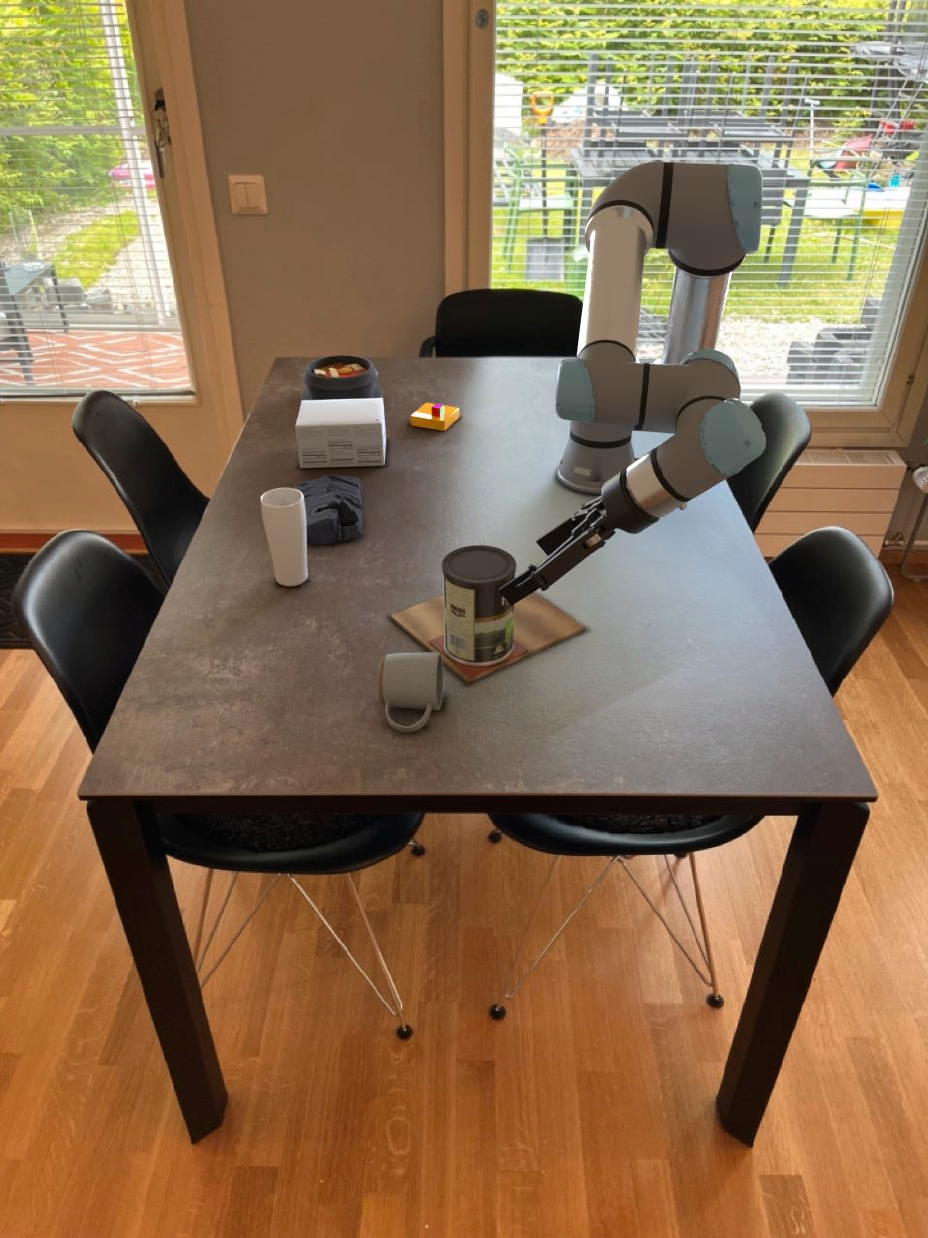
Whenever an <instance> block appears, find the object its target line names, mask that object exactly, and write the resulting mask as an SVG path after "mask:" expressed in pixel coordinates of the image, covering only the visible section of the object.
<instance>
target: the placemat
mask: <svg viewBox="0 0 928 1238" xmlns="http://www.w3.org/2000/svg"><path fill="white" fill-rule="evenodd" d="M390 619H391V620H392V621H393V622H395V623H396V624H397V625H398V626H399V627H400V628H401V629H402V630H404V631H405V632H406V633H407V634H409V635H410V637H412V638H413V639H414V640H415V641H416V642H418V644H420V645H421V646H423V647H424V648H425V649H426V650H427V651H428V652H429V653H430V652H439V653H440V654H441V655H442V661H443V665H444V666H445V667H447V668H448V669H449V670H450V671H452V673H453V674H455V675H456V676H457V677H458V678H459V679H460V680H462V681H463V682H464V683H466V684H470V683H473V682H474V681H477V680H479V679H481V678H484V677H486V676H487V675H490V674H492V673H494V672H496V671H498V670H502V669H503V668H505V667H508V666H509V665H511V664H514V663H516V662H518V661H521V660H523V659H525V658H527V657H529V656H531V655H533V654H536V653H538V652H540V651H542V650H544V649H546V648H549V647H551V646H553V645H555V644H558V643H560V642H562V641H564V640H567V639H569V638H571V637H573V636H575V635H578V634H579V633H582V632H584V631H586V626H585V625H583V624H582V623H580V622H579V621H578V620H576V619H574V618H573V617H572V616H570V615H569V614H567V612H565V611H563V610H562V609H560V608H559V607H557V606H556V605H554V604H553V603H552V602H550V601H549V600H547V599H546V598H544V597H543V596H542V595H540V594H539V593H537V592H536V591H535V592H533V593H531V594H530V595H528V596H527V597H525V598H524V599H522V600H520V601H519V602H517V603H516V604H514V632H513V643H514V648H513V651H512V653H511V654H510V655H509V656H508V657H507V658H506V659H505V660H503V661H502V662H499V663H497V664H494V665H489V666H469V665H464V664H461V663H459V662H456V661H455V660H453V659H452V658H450V657H449V656H448V655H447V653H446V652H445V649H444V603H443V594H441V595H438V596H435V597H433V598H431V599H428V600H426V601H422V602H420V603H418V604H415V605H412V606H410V607H408V608H405V609H402V610H400V611H398V612H395V613H392V614H390Z"/></svg>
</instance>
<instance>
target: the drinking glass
mask: <svg viewBox="0 0 928 1238" xmlns="http://www.w3.org/2000/svg"><path fill="white" fill-rule="evenodd" d="M259 500H260V511H261V520H262V526H263V528H264V529H263V530H264V533H265V534H264V535H265V538H266V542H267V546H268V549H269V550H268V551H269V555H270V559H271V562H272V568H273V574H274V579H275V581H276V582H277V584H279V585H281V586H284V587H296V586H300V585H302V584H304V583H305V582H306V581H307V579H308V577H309V570H308V568H309V567H308V544H307V522H306V509H305V502H304V496H303V494H302V492H300V491H299V490H297V489H294V488H292V487H277V488H273V489H269V490H267V491H265V492H264V493H263V494H261V496H260V499H259Z"/></svg>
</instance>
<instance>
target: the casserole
mask: <svg viewBox="0 0 928 1238" xmlns="http://www.w3.org/2000/svg"><path fill="white" fill-rule="evenodd" d="M378 377H379V372H378V370H377V369H376V368H375V365H374V364H373V362H372V361H371V360H370V359H367V358H365V357H362V356H358V355H348V354H347V355H346V354H345V355H344V354H343V355H342V354H341V355H340V354H339V355H330V356H325V357H321V358H317V359H314V360H312V361H311V362H308V363H307V365H306V367H305V370H304V373H303V374H302V376H301V380H302V382H303V383H304V384H305V385H306V387H305V388H304V389H303V390H302V391H301V392H300V395H299V396H300V400H301V401H302V400H339V399H371V398H383V395H384V390H383V388H382V387H381V386H380V385H379V384H377V383H376V381H377V379H378Z"/></svg>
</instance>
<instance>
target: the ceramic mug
mask: <svg viewBox="0 0 928 1238" xmlns="http://www.w3.org/2000/svg"><path fill="white" fill-rule="evenodd" d="M379 661H380V662H379V666H378V674H377V693H378V698H379V701H380V703H381V704H382V705H383V706H384V712H385V718H386V721H387V724H389V726H390V727H391V728H392V729H393V730H395V731H397V732H401V733H414V732H417V731H419V730H420V729H422V728H423V727H424V726H425V725H426V723H427V722H428V720H429V717H430V716H431V713H432V711H439V710H440V709H441V706H442V702H443V695H444V682H445V681H444V664H443V661H442V655H441V654H440V653H439V652H430V651H429V652H394V653H388V654H385V655H384V656H382V657H381V659H380V660H379ZM390 708H398V709H412V710H423V711H425V712H424V713H423V715H422V717H421V718H419V720H417V721H416V722H415V723H413V724H411V725H407V726H406V725H402V724H400V723H398V722H395V720H393V719H392V718H391V716H390Z"/></svg>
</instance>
